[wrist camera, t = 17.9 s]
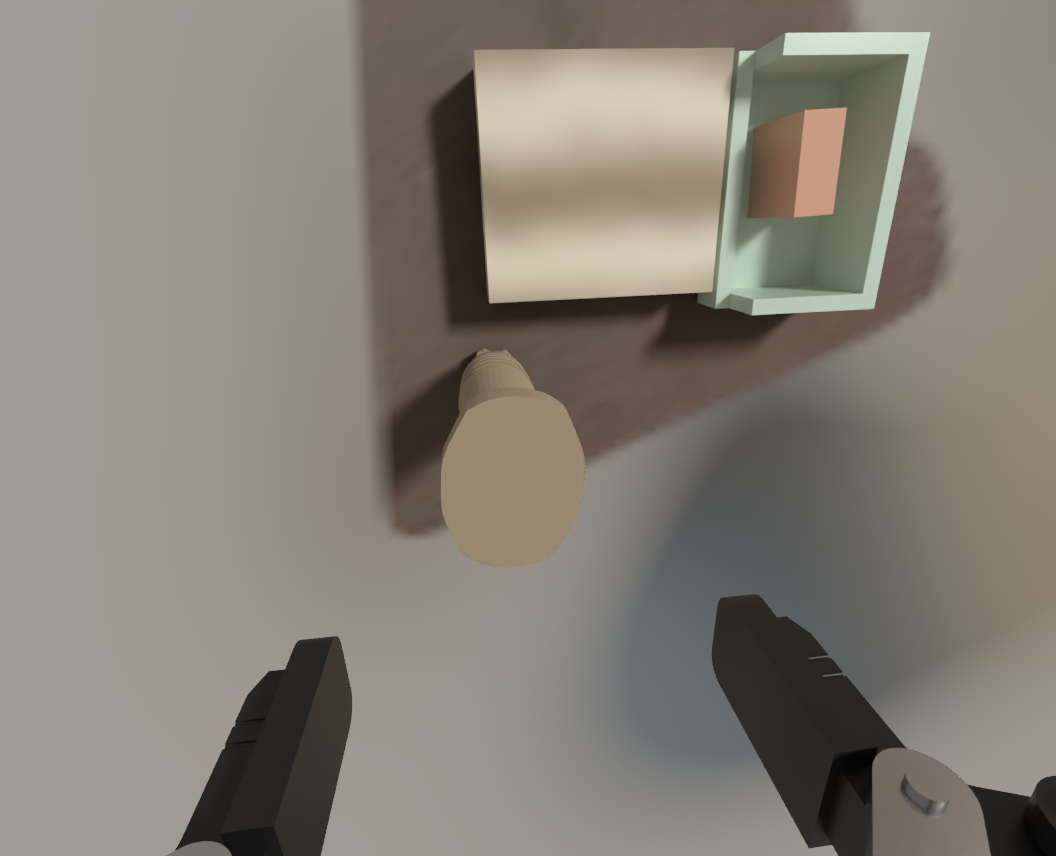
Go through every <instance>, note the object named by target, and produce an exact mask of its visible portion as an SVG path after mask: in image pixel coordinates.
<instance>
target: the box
mask: <svg viewBox="0 0 1056 856" xmlns="http://www.w3.org/2000/svg"><path fill="white" fill-rule="evenodd" d="M929 36H930V32H882V33H881V32H877V33H876V32H865V33H785V34H783V35H781V36H780V37H778V38H776V39H775V40H773V41H771V42H770V43H768V44H766V45H765V46H763V47H761V48H760V49H758V50H756V51H739V52H737V53H736V54H734V58H733V69H732V80H731V91H730V102H729V113H728V124H727V135H726V146H725V157H724V168H723V179H722V190H721V201H720V212H719V223H718V234H717V244H716V255H715V266H714V277H713V288H712V292H702V293H698V295H697V303H699V304H702V305H705V306H708V307H711V308H714V309H723V308H730V309H733V310H736V311H740V312H743V313H746V314H749V315H767V314H785V313H803V312H821V311H839V310H857V309H874V306H875V301H876V296H877V291H878V286H879V282H880V277H881V272H882V267H883V262H884V257H885V252H886V247H887V242H888V237H889V232H890V228H891V223H892V218H893V213H894V208H895V203H896V198H897V193H898V188H899V183H900V178H901V173H902V169H903V164H904V159H905V154H906V149H907V144H908V139H909V134H910V129H911V123H912V119H913V115H914V110H915V105H916V100H917V95H918V90H919V85H920V80H921V75H922V70H923V65H924V61H925V56H926V51H927V46H928V41H929ZM845 107H847V111H846V119H845V126H844V134H843V142H842V149H841V157H840V165H839V172H838V180H837V188H836V195H835V203H834V211H833V214H829V215H817V216H805V217H789V218H748V205H749V191H750V178H751V164H752V151H753V138H754V127H757V126H760V125H763V124H766V123H769V122H772V121H775V120H778V119H780V118H783V117H786V116H789V115H792V114H795V113H798V112H801V111H804V110H815V109H830V108H845Z"/></svg>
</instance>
